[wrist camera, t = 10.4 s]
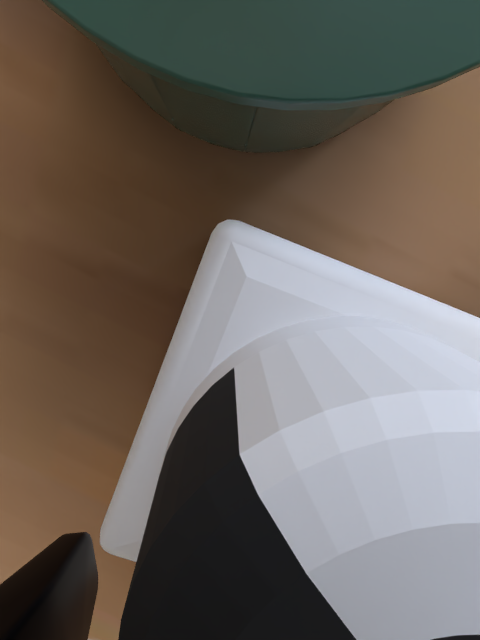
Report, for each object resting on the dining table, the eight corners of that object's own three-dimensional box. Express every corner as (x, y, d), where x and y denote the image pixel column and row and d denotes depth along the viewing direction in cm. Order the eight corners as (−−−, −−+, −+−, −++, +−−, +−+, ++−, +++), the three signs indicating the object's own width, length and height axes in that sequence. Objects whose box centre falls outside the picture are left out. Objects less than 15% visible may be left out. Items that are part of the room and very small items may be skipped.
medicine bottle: (332, 474, 17) (593, 1081, 5) (149, 410, 16) (-70, 946, 4) (417, 296, 15) (1055, 538, 4) (222, 218, 14) (207, 191, 3)
